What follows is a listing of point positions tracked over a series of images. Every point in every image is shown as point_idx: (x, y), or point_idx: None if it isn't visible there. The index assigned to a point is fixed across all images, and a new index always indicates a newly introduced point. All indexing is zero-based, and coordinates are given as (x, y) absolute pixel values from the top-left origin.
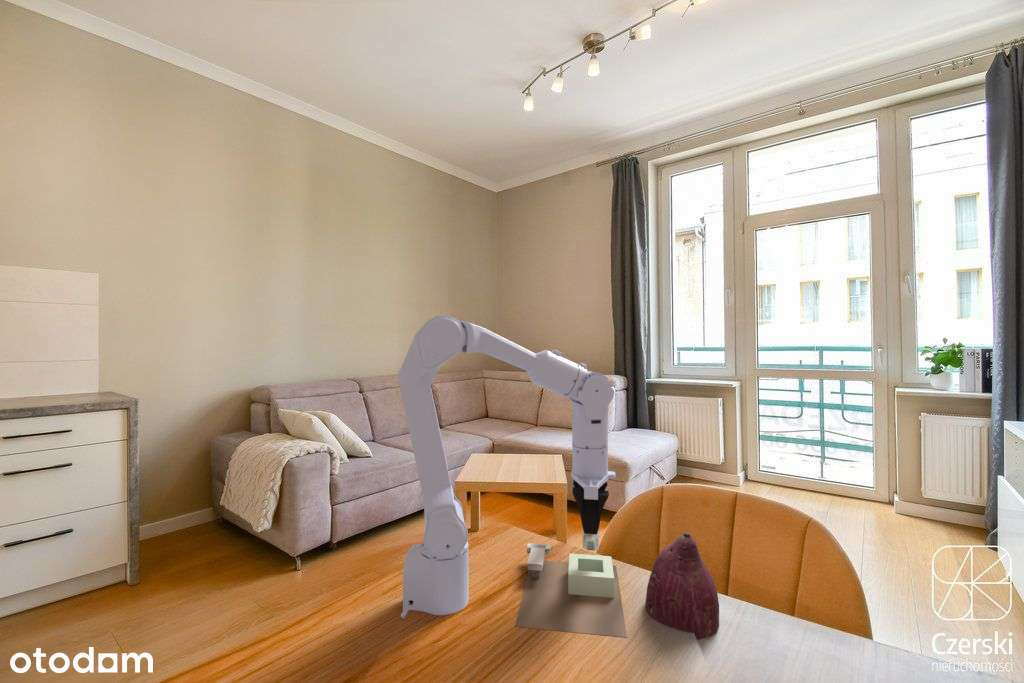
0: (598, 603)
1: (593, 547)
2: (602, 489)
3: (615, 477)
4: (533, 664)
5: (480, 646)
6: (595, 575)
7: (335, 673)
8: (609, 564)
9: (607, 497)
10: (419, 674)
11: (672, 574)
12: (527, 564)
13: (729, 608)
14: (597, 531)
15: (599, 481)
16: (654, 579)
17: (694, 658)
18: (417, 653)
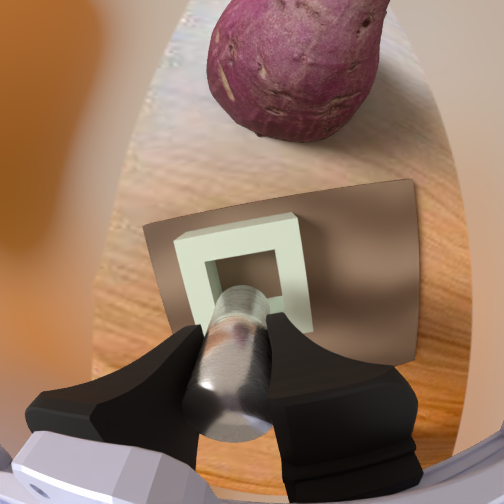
0: (324, 244)
1: (266, 302)
2: (126, 409)
3: (137, 457)
4: (459, 309)
5: (432, 378)
6: (297, 268)
7: (454, 445)
8: (223, 239)
9: (396, 372)
10: (464, 400)
11: (378, 52)
12: None
13: (222, 3)
14: (285, 315)
15: (502, 501)
16: (339, 104)
17: (397, 73)
18: (439, 419)
